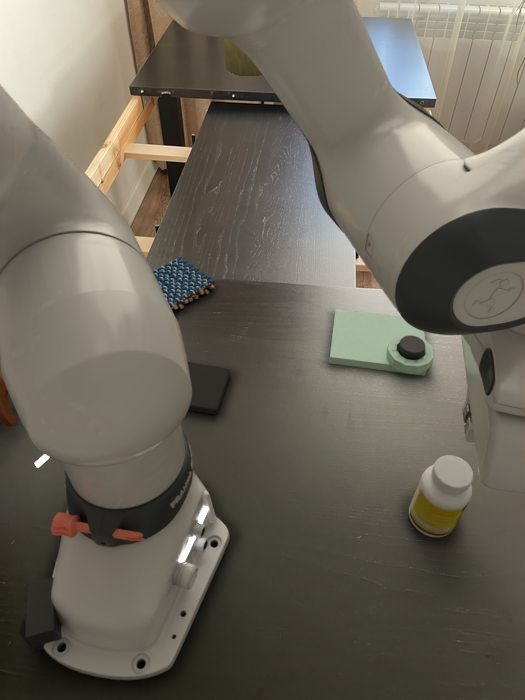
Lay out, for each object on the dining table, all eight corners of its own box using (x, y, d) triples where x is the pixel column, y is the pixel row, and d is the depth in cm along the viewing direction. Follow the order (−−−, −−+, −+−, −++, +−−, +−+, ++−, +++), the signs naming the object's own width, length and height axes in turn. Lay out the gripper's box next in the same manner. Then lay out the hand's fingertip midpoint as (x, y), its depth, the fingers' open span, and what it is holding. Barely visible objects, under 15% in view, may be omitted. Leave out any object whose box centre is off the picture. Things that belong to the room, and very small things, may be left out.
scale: (430, 382, 77) (435, 368, 75) (328, 369, 79) (330, 355, 77) (426, 326, 85) (431, 312, 83) (334, 315, 87) (336, 301, 85)
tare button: (423, 361, 76) (426, 354, 75) (398, 358, 77) (400, 351, 76) (422, 344, 79) (425, 336, 78) (398, 341, 79) (400, 333, 78)
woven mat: (131, 289, 92) (129, 279, 90) (180, 263, 97) (178, 254, 96) (168, 317, 86) (167, 308, 85) (217, 289, 92) (217, 279, 90)
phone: (216, 409, 72) (111, 391, 74) (216, 415, 72) (113, 397, 75) (230, 368, 77) (132, 352, 79) (231, 374, 78) (134, 358, 80)
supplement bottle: (456, 543, 60) (482, 498, 53) (407, 533, 61) (426, 489, 54) (454, 500, 64) (478, 453, 57) (408, 492, 64) (426, 445, 58)
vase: (213, 78, 165) (207, -27, 146) (249, 64, 174) (248, -36, 155) (255, 92, 157) (255, -18, 138) (291, 76, 167) (295, -28, 147)
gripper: (468, 237, 48) (432, 346, 58) (499, 415, 34) (445, 519, 44) (541, 245, 47) (492, 354, 57) (604, 429, 33) (525, 532, 43)
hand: (472, 427), depth 50 cm, fingers closed
